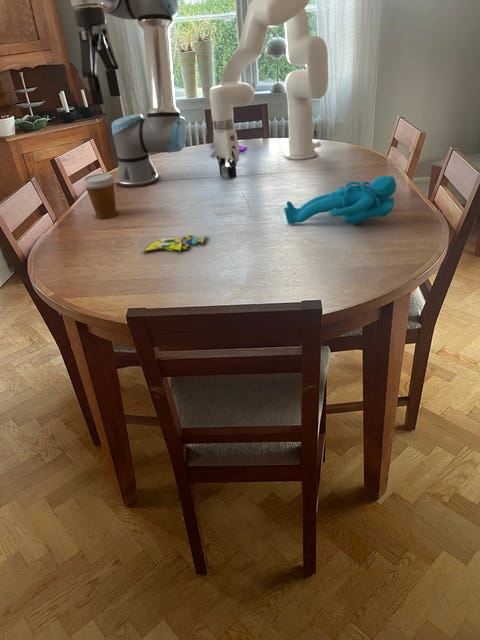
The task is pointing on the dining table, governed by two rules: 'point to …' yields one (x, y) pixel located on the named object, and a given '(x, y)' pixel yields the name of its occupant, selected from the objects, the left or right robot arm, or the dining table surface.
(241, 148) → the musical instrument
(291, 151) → the right robot arm
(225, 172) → the canister
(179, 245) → the toy
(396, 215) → the dining table surface
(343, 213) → the toy
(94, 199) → the disposable coffee cup
